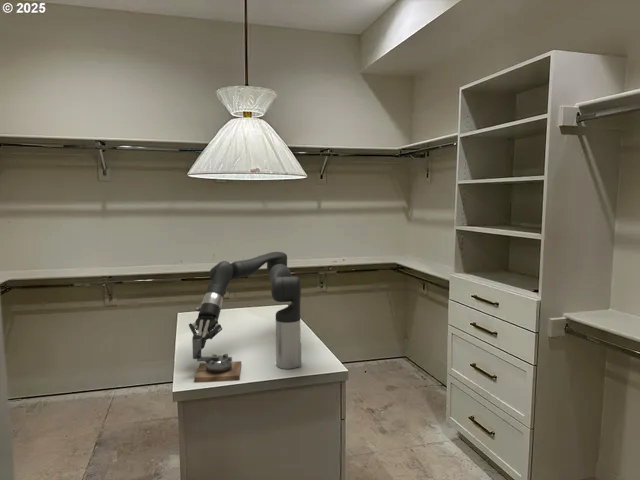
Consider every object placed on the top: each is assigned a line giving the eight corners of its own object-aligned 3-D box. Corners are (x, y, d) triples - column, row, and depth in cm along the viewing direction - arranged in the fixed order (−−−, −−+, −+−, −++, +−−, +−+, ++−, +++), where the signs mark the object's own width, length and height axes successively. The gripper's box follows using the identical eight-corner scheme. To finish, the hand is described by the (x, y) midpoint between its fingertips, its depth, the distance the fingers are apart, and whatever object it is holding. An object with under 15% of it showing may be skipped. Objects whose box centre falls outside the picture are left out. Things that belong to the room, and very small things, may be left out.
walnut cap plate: (241, 365, 168) (241, 360, 168) (239, 379, 154) (239, 375, 154) (200, 367, 166) (200, 362, 166) (194, 382, 152) (194, 377, 152)
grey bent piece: (233, 363, 165) (232, 328, 163) (230, 372, 156) (230, 336, 155) (195, 364, 163) (194, 330, 162) (190, 374, 154) (189, 337, 153)
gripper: (230, 312, 174) (219, 354, 163) (197, 311, 176) (185, 352, 165) (225, 302, 168) (214, 344, 157) (191, 301, 170) (178, 343, 159)
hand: (199, 348), depth 161 cm, fingers closed
